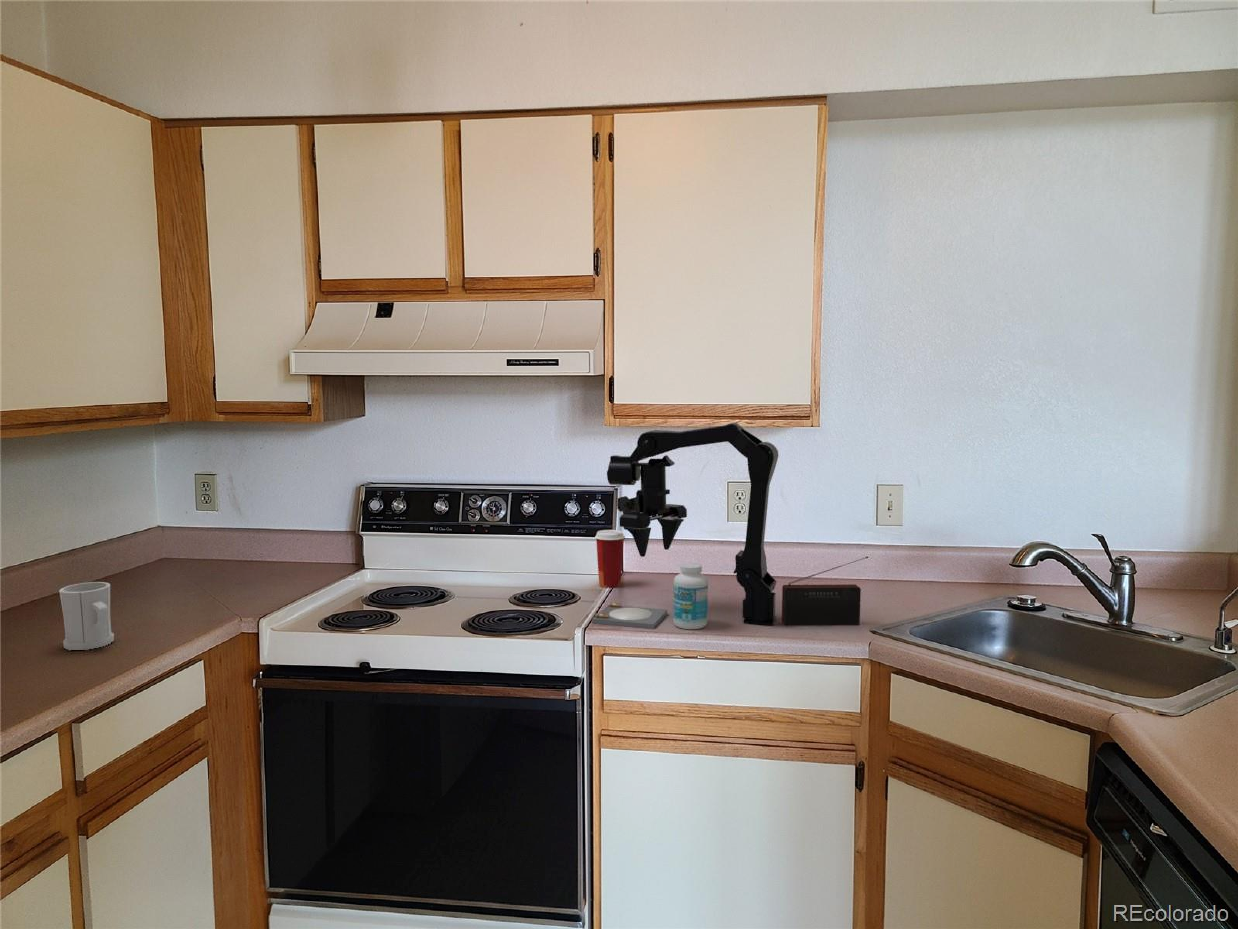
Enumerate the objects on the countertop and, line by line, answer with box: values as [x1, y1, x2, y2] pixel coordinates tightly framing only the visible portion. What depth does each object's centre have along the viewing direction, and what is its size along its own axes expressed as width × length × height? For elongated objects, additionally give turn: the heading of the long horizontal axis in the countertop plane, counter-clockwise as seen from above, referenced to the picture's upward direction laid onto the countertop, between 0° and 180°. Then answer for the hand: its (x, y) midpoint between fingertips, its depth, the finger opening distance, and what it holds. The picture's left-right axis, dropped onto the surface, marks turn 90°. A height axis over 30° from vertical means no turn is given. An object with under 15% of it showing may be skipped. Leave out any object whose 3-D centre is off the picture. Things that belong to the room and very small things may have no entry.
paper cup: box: [594, 529, 626, 589], centre depth 222 cm, size 8×8×14 cm
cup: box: [58, 581, 115, 651], centre depth 174 cm, size 10×9×12 cm
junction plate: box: [591, 602, 668, 630], centre depth 193 cm, size 14×12×2 cm
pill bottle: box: [672, 562, 709, 630], centre depth 187 cm, size 8×7×14 cm
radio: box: [781, 556, 869, 627], centre depth 187 cm, size 19×3×15 cm, turn 91°
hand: (654, 552), depth 197 cm, fingers open, 9 cm apart
